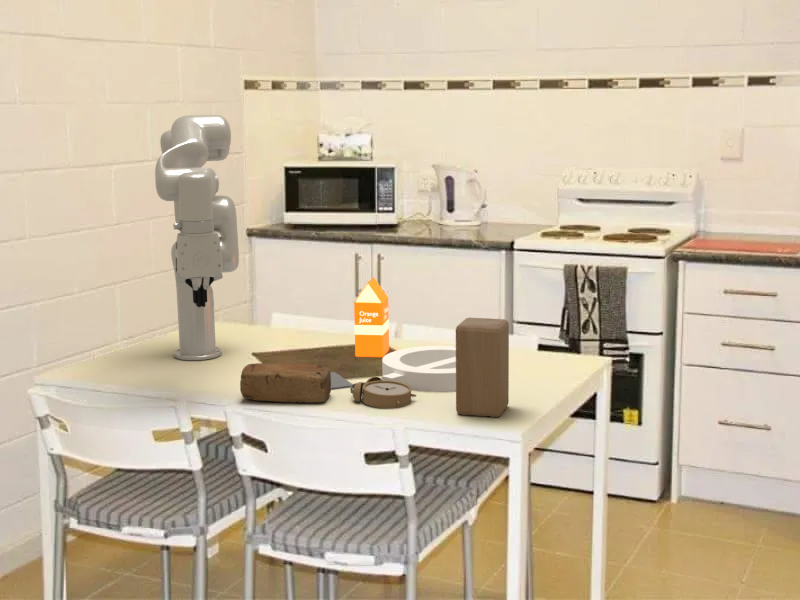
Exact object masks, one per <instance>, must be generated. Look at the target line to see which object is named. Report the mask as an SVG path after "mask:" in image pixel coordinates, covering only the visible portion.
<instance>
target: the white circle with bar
mask: <svg viewBox="0 0 800 600" xmlns="http://www.w3.org/2000/svg"><path fill="white" fill-rule="evenodd" d="M381 361H382V362H381V363H382V365H381V366H382V376H381V379H382V381H383V380H386V381H396V382H401V383H404V384H407V385H409V386H410V387H411V388H412V390H411V391H417V392H433V393H436V392H438V393H441V392H443V393H444V392H445V393H446V392H447V393H448V392H456V345H455V346H454V345H426V346H425V345H423V346H414V347H408V348H407V347H406V348H403V349H398V350H394V351H392V352H388V353H386V354H385V356H384V357H382V359H381Z"/></svg>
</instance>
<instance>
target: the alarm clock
mask: <svg viewBox="0 0 800 600" xmlns="http://www.w3.org/2000/svg"><path fill="white" fill-rule="evenodd" d="M349 391H350V394H352V396H353V400H354V401H355V403H359V402H360V403H361V401H362V403H364V404H365V405H367V406H369V407H373V408H378V409H396V408H402V406H403V407H406V406H408V405H409V404H411V403H412V398H415V397H417V394H414V393H412V391H413V390H412V388H411V387H410V386H409V385H407V384H404V383H401V382H396V381H386V380H383V381H382V377H379V376H372V377H369V378H368V379H367V380H366V382H363V381H359V382H356V383H352V385H351V387H350V390H349Z"/></svg>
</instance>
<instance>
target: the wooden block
mask: <svg viewBox="0 0 800 600" xmlns="http://www.w3.org/2000/svg"><path fill="white" fill-rule="evenodd" d="M509 328H510V323H509V321H508V320H507V319H504V318H487V317H486V318H485V317H483V318H482V317H467V318H465V319H463V320H462V321H461V322H460V323H459V324H458V325H456V328H455V346H456V391H455V411H456V414H458V415H460V414H462V416H473V415H475V417H487V416H490V418H498V416H499V417H501V416H502V414H503V413H504V411H505V409H506V408H508V405H509V403H510V402H509V401H510V400H509V398H510V397H509V396H510V395H509V389H510V388H509V386H510V385H509V384H510V383H509V378H510V377H509V373H510V372H509V371H510V369H509V366H510V365H509V363H510V361H509V360H510V357H509V356H510V355H509V354H510V353H509V351H510V350H509V349H510V347H509V346H510V345H509V344H510V340H509V337H510V336H509V335H510V329H509Z"/></svg>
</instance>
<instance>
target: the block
mask: <svg viewBox="0 0 800 600" xmlns="http://www.w3.org/2000/svg"><path fill="white" fill-rule="evenodd" d="M330 372H331V371H330V369H329V368H326V367H324V366H320V365H316V364H312V363H311V364H310V363H294V362H293V363H292V362H291V363H290V362H286V363H285V362H282V363H267V362H266V363H264V362H263V363H260V362H259V363H257V362H256V363H249V364H246V365H245V366H244V367H243V369H242V370H241V374H240V384H239V387H240V394H241V396H242V398H244V399H248V400H249V399H250V400H253V401H259V402H274V403H275V402H278V403H296V402H299V403H301V404H302V403H303V402H305V403H307V404H308V403H310V404H311V403H312V404H313V403H315V404H316V403H325V402H326V401H327V400H328V398H329V397H330V395H331V393H332V392H331V391H332V390H331V373H330ZM305 403H304V404H305Z"/></svg>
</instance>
